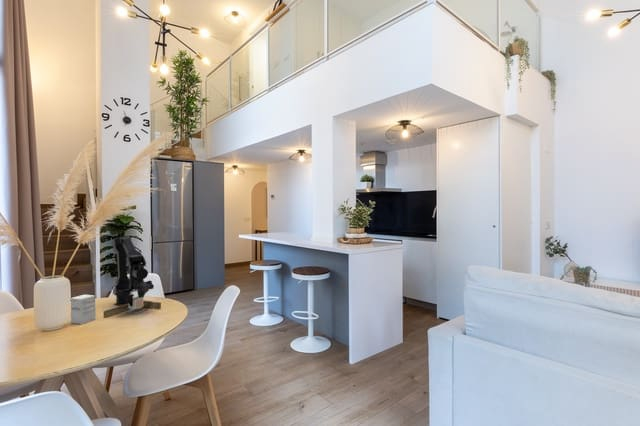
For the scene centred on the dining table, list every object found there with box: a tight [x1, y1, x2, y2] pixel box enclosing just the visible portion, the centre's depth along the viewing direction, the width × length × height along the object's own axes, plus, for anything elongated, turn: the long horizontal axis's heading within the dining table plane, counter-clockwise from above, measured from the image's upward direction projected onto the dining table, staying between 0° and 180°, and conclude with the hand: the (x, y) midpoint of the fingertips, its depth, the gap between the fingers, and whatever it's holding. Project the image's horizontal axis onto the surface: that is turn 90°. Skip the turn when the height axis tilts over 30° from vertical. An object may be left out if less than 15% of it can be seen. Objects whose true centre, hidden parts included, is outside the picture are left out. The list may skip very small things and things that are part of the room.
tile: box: [123, 307, 149, 315], centre depth 170 cm, size 8×8×1 cm
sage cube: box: [129, 296, 144, 310], centre depth 170 cm, size 5×5×5 cm
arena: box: [103, 299, 162, 319], centre depth 168 cm, size 16×22×4 cm
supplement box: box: [70, 294, 96, 325], centre depth 156 cm, size 7×7×13 cm
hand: (135, 305), depth 170 cm, fingers closed on sage cube, 5 cm apart
